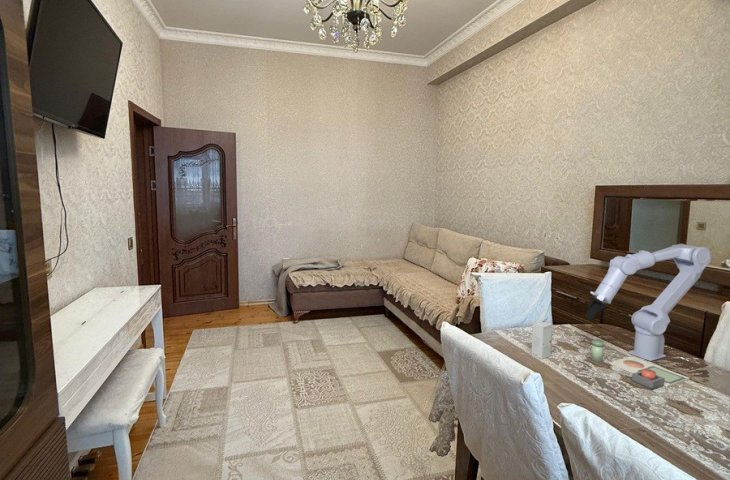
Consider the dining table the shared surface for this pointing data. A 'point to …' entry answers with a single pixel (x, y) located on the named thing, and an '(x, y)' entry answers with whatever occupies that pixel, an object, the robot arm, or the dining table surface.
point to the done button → (648, 374)
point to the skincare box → (541, 339)
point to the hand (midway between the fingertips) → (588, 319)
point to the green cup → (597, 350)
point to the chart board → (637, 365)
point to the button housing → (648, 381)
